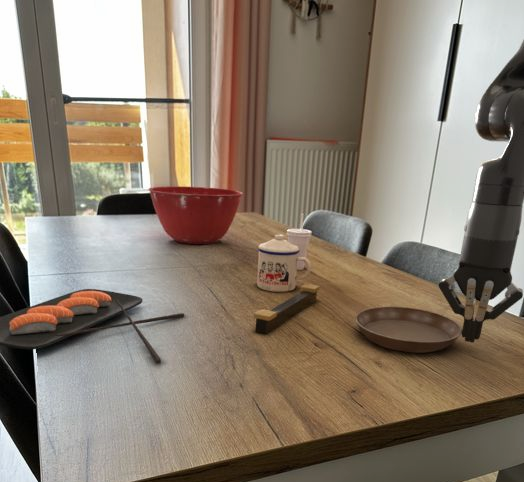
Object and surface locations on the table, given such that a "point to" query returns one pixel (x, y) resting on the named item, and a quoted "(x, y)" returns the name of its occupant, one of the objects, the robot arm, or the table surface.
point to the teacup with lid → (279, 265)
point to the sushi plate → (70, 319)
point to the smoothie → (300, 241)
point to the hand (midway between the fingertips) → (469, 340)
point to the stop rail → (285, 309)
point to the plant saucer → (408, 329)
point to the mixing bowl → (195, 212)
